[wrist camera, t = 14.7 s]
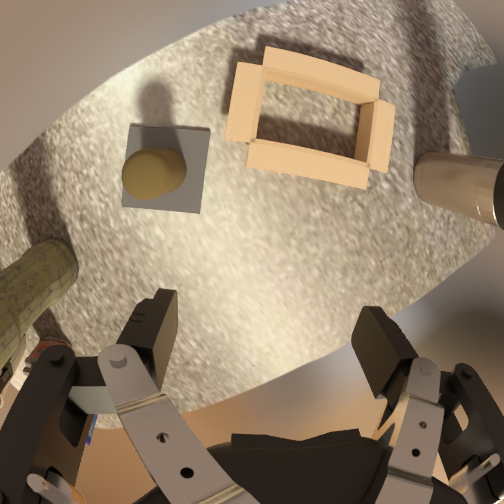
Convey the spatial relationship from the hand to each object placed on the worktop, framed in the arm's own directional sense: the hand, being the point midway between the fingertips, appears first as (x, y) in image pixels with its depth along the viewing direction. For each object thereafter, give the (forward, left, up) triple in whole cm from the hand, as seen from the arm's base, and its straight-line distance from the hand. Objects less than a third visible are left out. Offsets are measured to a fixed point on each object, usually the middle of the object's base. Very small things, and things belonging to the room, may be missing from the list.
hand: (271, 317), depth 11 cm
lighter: (+31, +28, -28) cm, 50 cm away
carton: (-9, -14, -27) cm, 32 cm away
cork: (+10, -4, -27) cm, 29 cm away
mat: (+10, -4, -27) cm, 29 cm away
